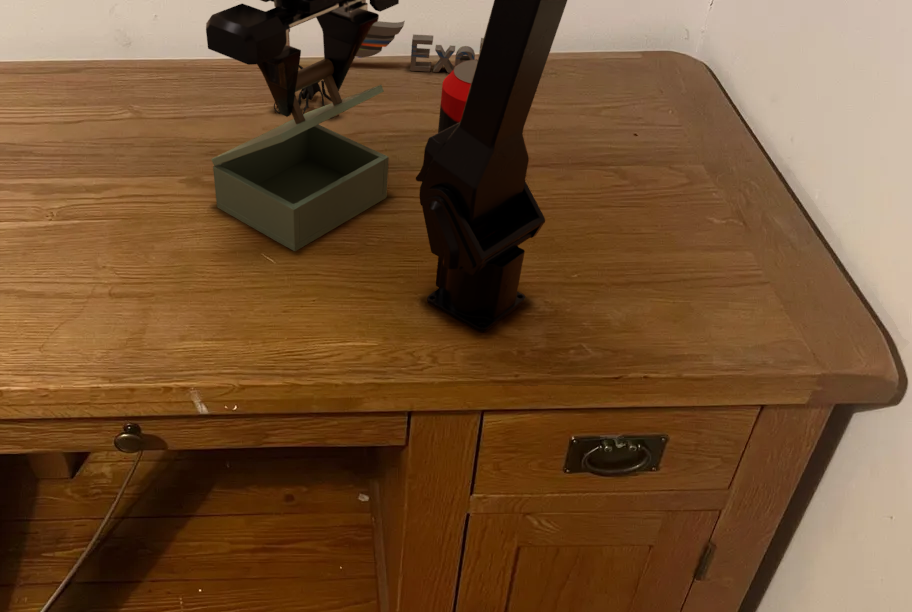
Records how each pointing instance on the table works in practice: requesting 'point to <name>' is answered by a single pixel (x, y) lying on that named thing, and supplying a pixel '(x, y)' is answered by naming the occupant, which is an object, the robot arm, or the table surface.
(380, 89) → the lid
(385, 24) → the extruded letter logo
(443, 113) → the soda can
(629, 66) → the table surface
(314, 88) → the creature
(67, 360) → the table surface
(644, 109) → the table surface
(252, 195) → the compartment
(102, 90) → the table surface
